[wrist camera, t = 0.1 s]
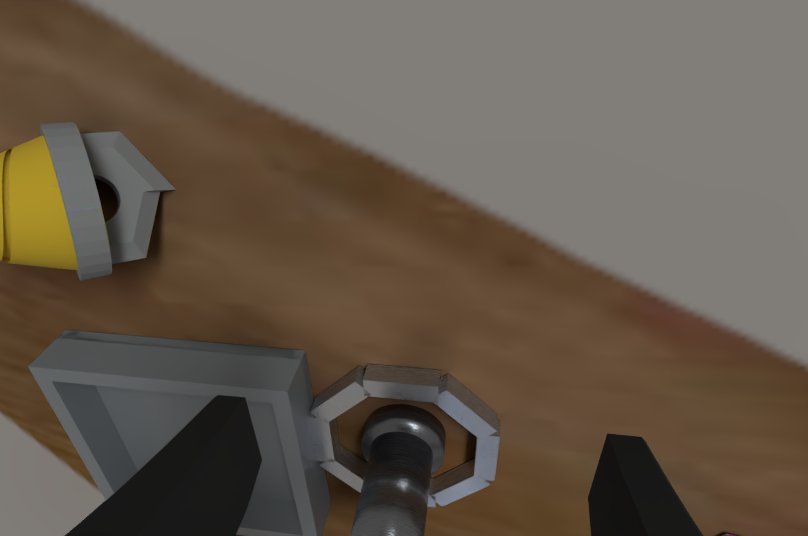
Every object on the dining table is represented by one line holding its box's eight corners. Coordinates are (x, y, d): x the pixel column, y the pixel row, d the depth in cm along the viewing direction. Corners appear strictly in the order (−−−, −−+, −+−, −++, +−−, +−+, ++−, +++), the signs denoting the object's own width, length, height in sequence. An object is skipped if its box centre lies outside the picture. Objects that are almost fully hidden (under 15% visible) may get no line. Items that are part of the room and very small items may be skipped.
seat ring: (490, 496, 28) (490, 513, 27) (326, 477, 29) (321, 493, 28) (505, 376, 23) (505, 392, 22) (306, 358, 24) (300, 374, 23)
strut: (444, 461, 27) (430, 615, 21) (368, 452, 27) (333, 601, 21) (446, 408, 25) (431, 564, 19) (363, 400, 25) (323, 549, 19)
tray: (330, 503, 30) (319, 545, 28) (140, 479, 32) (116, 518, 30) (305, 350, 24) (287, 391, 22) (65, 329, 25) (27, 366, 23)
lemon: (178, 259, 22) (-143, 323, 17) (147, 134, 22) (-195, 159, 16) (209, 256, 18) (-210, 342, 13) (172, 99, 17) (-286, 118, 12)
